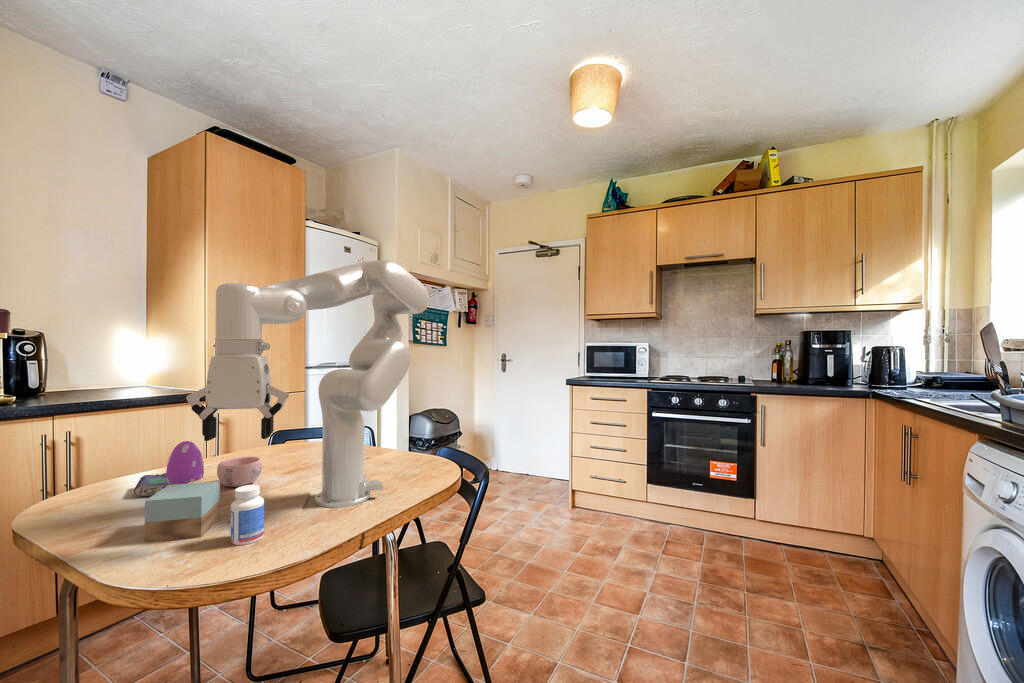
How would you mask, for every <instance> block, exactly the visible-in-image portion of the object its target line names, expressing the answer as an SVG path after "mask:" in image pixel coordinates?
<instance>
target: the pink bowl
mask: <svg viewBox="0 0 1024 683" xmlns="http://www.w3.org/2000/svg"><path fill="white" fill-rule="evenodd" d="M262 469H263V462H262V459H261V458H260V457H258V456H237V457H233V458H228V459H225V460H222V461H221V462H219V463H218V465H217V469H216V475H217V478H218V481H220V484H222V486H225V487H241V486H245V485H251V484H252V483H254V482H256V481H257V480H258V479H259V477H260V476H261V473H262Z"/></svg>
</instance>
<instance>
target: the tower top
mask: <svg viewBox="0 0 1024 683" xmlns="http://www.w3.org/2000/svg"><path fill="white" fill-rule="evenodd" d="M220 485H221V482H220V480H218V481H207V482H204V481H203V482H190V483H188V484H175V485H168V486H167V487H165V488H164V489H162V490H161V491H159V492H158V493H156V494H155V495H153V496H149V497H148V498H147V499H145V500H144V523H145V522H156V521H167V520H178V519H189V518H201V517H202V516H203V515H205V514H206V513H207V512H208V511H209V510H210V509H211V508H212V507H213V506H214V505H215V504H216V503H217V502H218V501H219V500H220V499H221V498H220V495H221V494H220V493H221V492H220V491H221V488H220V487H221V486H220ZM220 501H221V500H220Z"/></svg>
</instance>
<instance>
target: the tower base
mask: <svg viewBox="0 0 1024 683" xmlns="http://www.w3.org/2000/svg"><path fill="white" fill-rule="evenodd" d="M220 501H221V500H219V501H218V502H217V503H216V504H215V505H214V506H213V507H212V508H211V509H210V510H209V511H208V512H207V513H206V514H205V515H203V516H202V517H201V518H189V519H178V520H167V521H156V522H145V521H144V542H154V541H155V542H156V541H158V542H159V541H169V540H171V541H173V540H183V539H195V538H202V537H203V536H204V535H205V534H207V532H208V531H210V529H211V528H212V527H213V526H214V525H215V524H216V523H217V522H219V520H220V512H221V511H220V509H221V508H220V507H221V506H220Z"/></svg>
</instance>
